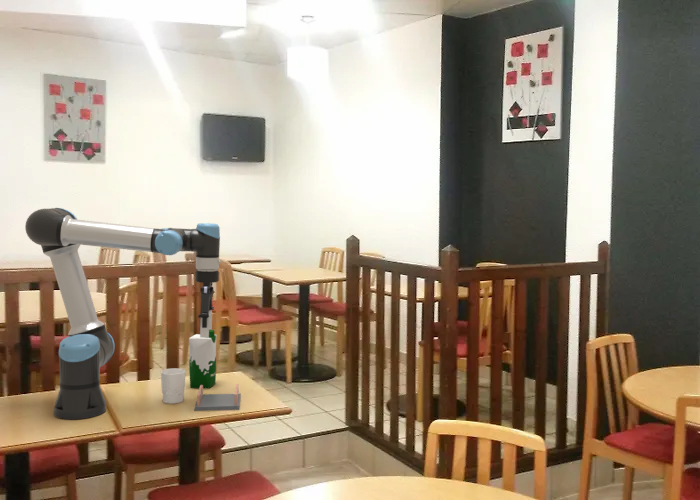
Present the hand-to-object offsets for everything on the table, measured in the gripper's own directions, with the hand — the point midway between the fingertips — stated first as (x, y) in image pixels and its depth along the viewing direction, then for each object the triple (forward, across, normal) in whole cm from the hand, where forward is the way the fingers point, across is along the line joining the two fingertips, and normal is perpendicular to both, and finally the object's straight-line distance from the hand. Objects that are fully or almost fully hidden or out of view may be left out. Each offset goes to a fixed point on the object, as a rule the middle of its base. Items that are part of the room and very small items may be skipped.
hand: (206, 333), depth 227 cm
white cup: (+23, -2, +10) cm, 25 cm away
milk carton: (+22, +16, +2) cm, 28 cm away
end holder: (+22, -6, -5) cm, 23 cm away
